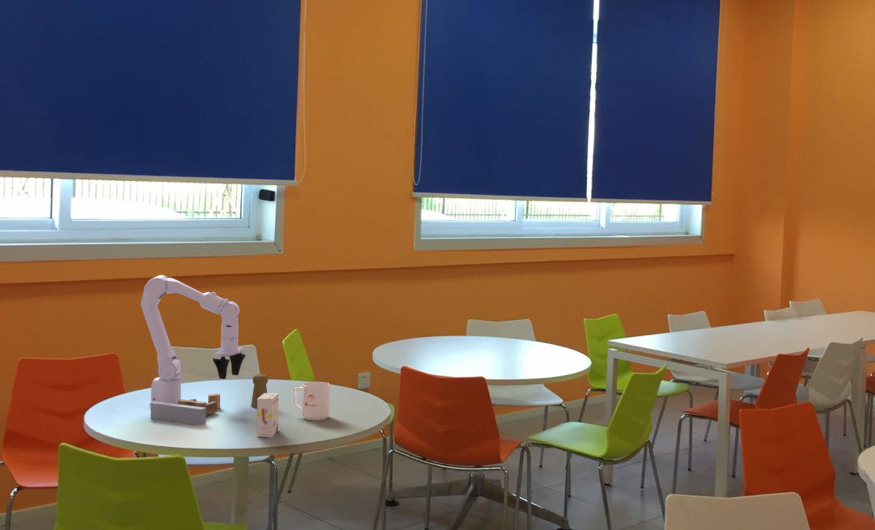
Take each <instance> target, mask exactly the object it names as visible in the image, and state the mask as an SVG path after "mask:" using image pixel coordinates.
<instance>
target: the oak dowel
mask: <svg viewBox="0 0 875 530" xmlns="http://www.w3.org/2000/svg"><path fill="white" fill-rule="evenodd" d="M212 401H215V402H217V410H220V409H221V394H219V393H211V394H208V395H207V403H209V402H212Z"/></svg>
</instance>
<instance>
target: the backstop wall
mask: <svg viewBox="0 0 875 530" xmlns="http://www.w3.org/2000/svg"><path fill="white" fill-rule="evenodd" d="M150 403H151V402H150ZM150 419H154V420H162V421H166V422H167V421H168V422H175V423H182V424H189V425H197V426H202V425H205V424H207V416H206V408H204V407H196V406H188V405H180V404H172V403H164V402H157V401H155V402H152V403H151V405H150Z"/></svg>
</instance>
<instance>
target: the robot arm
mask: <svg viewBox="0 0 875 530" xmlns="http://www.w3.org/2000/svg"><path fill="white" fill-rule="evenodd" d="M166 294H167V295H168V294H179V295H182V296H184V297H186V298H188V299H191V300H193V301H196V302H198V303H199V306H200V307H201V308H203V309H204V310H207V311H209V312H211V313H213V314H215V315H217V316H218V315H220V316H221V324H220V325H221V327H220V328H221V331H220V339H221V340H220V350H218V351H217V352H214V357H213V358H212V361H213V363H214V365H215V367H216V370H217V373H218V378H219V380H226V379H227V375H228V374H227V373H228V371H227V370H228V367H229V366H228V365H229V363H230V366H231V375H232V376H239V374H240V370H241V366H242V364H243V362H244V360H245V358H246V354H244V352H245V350H244V349H245V348H244V347H241V346H239V314H240V306H239V304H238V303H236V302H235V301H234V300H230V301H229V298H223V297H221V296H219V295H217V292H214V291H211V292H210V291H207V292H204V293H203V292H201V291H199V290H197V289H195V288H193V287H191V286H189V285H187V284H186V283H183V282H182V281H180V280H177V279H176V278H172V277H168V276H166V275H164V274H160V275H157V276H155V277H152V278H149V280H148V281H147V283H146V284H145V285H144V287H143V293H142V298H141V301H140V307H141V310H142V312H143V313H142V314H143V316H144V319H145V322H146V324H147V328H148V331H149V334H150V337H151V340H152V342H153V345H154V348H155V351H156V353H157V354H156V356H157V358H156V361H157V364H158V369H157V373H158V376H159V377H155V378H154V379H153V380H152V382H151V384H150V385H151V387H150V403H149V405H150V406H151V403H152V402H155V401H157V402H164V403H172V404H178V400H181V399H182V376H181V375H180V373H181V371H182V370H183V363H182V361H181V360H180V359H179V358H178V356H177V353H176V352H175V351H174V350H173V348H172V344H171V342H170V339H169V336H168V333H167V331H166V327H165V325H164V324H165V323H164V321H163V319H162V315H161V312H160V310H159V307H158V305H159V304H160V302H161V300H162V298H163V296H165V295H166ZM227 357H229V359H227Z"/></svg>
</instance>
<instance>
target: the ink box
mask: <svg viewBox="0 0 875 530" xmlns="http://www.w3.org/2000/svg"><path fill="white" fill-rule="evenodd" d="M256 413H257V417H256V418H257V419H256V420H257V421H256V422H257V424H256V426H257V427H256V438H257V437H258V438H273V437H274V436H275V435H276V434H277V432H278V431H279V392H270V393H269V392H267V393H264V394H263V395H261V396H260V397H259V398H258V399H257V408H256Z"/></svg>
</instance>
